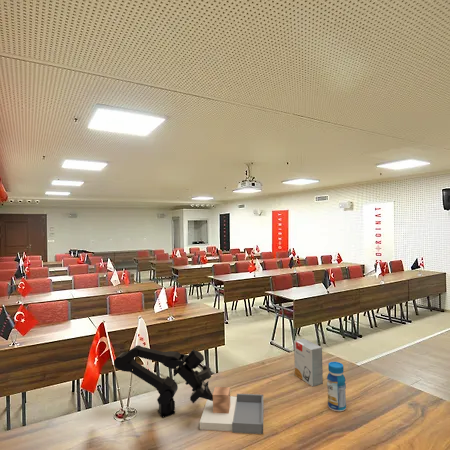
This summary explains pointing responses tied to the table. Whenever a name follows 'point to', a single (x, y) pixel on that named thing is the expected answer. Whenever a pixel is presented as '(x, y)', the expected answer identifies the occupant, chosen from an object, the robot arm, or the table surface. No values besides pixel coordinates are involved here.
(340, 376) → the beverage bottle
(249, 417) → the box
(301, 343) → the hard drive box
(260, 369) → the table surface
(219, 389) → the block
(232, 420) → the cream slab
